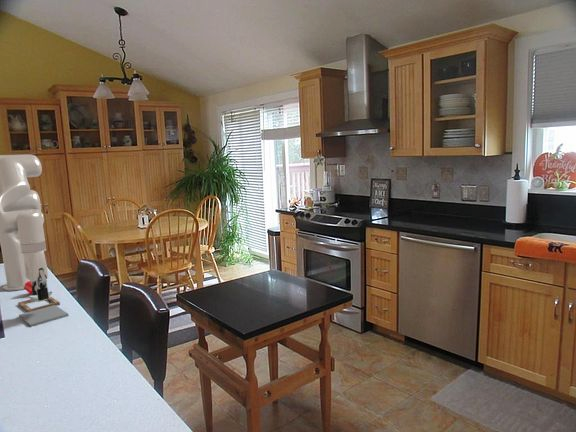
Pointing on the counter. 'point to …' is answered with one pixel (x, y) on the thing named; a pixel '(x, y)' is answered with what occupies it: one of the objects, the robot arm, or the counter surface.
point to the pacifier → (35, 297)
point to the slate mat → (43, 315)
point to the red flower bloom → (28, 287)
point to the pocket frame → (25, 307)
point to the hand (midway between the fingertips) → (40, 297)
